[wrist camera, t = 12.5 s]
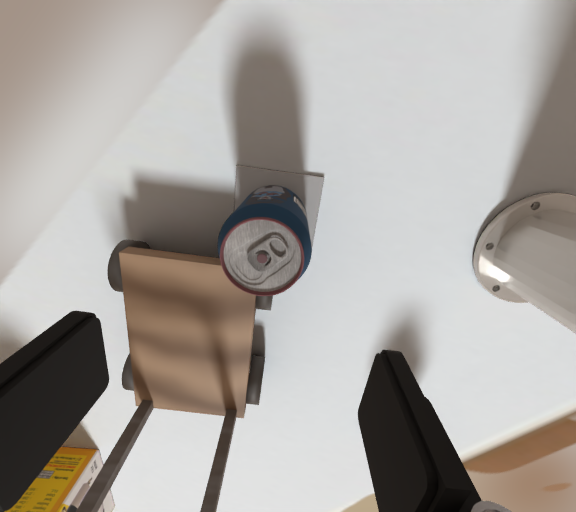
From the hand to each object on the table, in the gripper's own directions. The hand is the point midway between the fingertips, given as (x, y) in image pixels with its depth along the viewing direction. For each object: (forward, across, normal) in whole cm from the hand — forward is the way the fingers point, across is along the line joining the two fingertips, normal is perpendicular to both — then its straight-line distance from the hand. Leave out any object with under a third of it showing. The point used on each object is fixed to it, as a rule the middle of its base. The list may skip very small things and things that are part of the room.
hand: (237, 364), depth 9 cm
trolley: (+22, +8, +14) cm, 27 cm away
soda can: (+22, 0, 0) cm, 22 cm away
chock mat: (+22, 0, 0) cm, 22 cm away
